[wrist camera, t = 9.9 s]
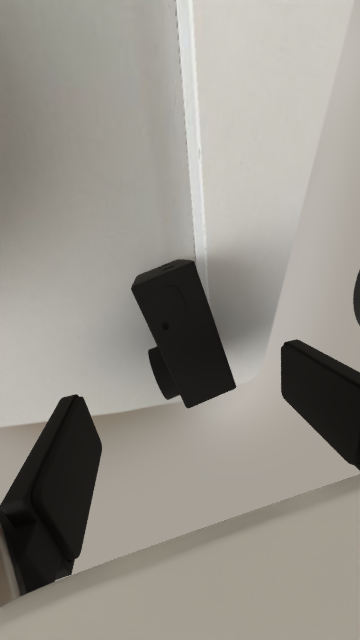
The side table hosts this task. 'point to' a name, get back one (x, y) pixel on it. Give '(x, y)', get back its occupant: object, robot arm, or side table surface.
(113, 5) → the side table surface
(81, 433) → the robot arm
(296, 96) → the side table surface
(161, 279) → the digital camera
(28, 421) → the side table surface
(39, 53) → the side table surface
